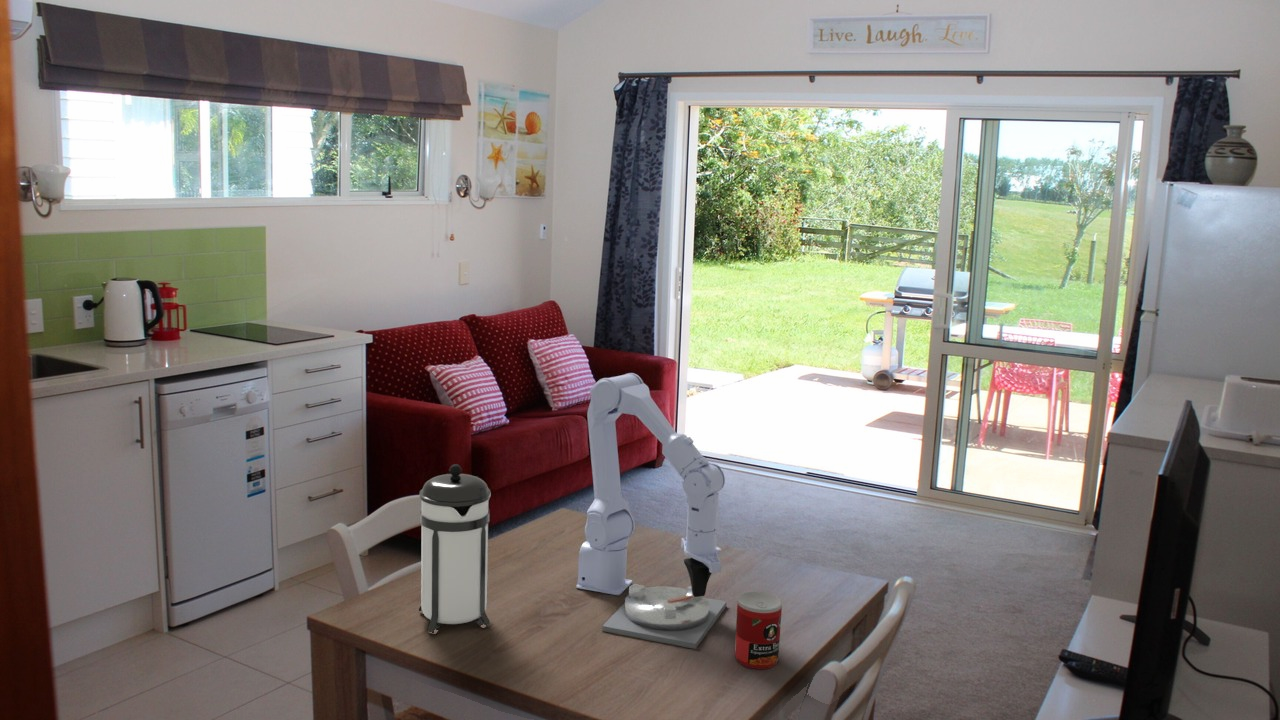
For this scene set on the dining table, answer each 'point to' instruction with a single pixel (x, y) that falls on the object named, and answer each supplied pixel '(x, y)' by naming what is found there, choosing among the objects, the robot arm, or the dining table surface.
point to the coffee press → (454, 549)
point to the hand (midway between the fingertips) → (698, 595)
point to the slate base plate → (675, 637)
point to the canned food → (758, 630)
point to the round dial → (665, 607)
